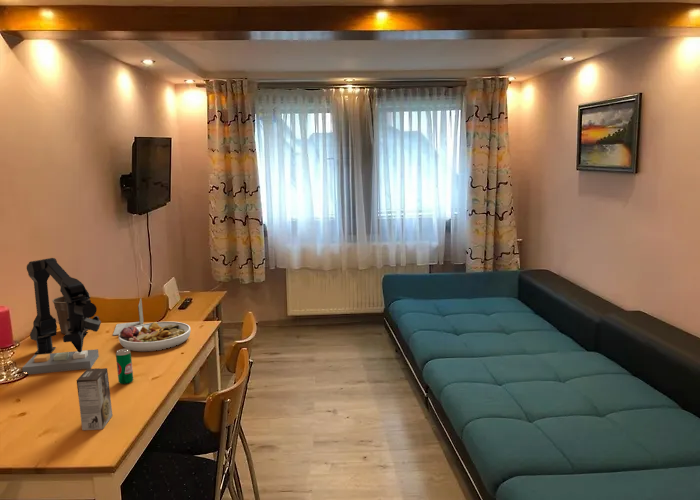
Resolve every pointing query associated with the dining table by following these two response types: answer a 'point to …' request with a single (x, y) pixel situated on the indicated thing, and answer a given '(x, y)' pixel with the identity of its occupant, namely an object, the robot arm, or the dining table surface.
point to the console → (61, 363)
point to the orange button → (42, 358)
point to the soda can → (124, 366)
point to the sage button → (61, 356)
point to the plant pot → (63, 314)
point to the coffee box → (94, 399)
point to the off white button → (80, 354)
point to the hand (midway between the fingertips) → (80, 351)
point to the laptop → (125, 325)
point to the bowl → (154, 336)
